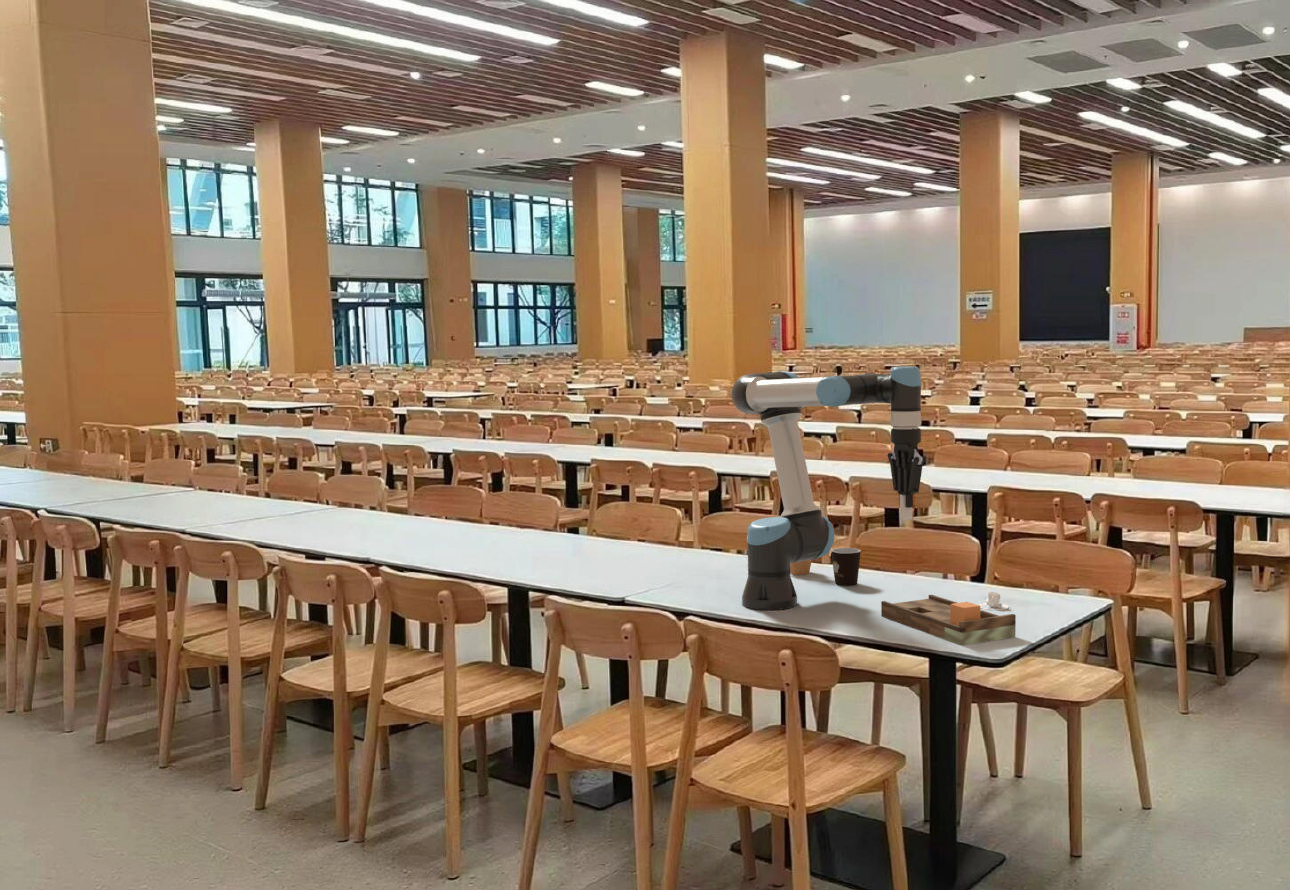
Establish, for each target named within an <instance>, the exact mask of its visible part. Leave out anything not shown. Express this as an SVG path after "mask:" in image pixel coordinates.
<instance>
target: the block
mask: <svg viewBox="0 0 1290 890" xmlns="http://www.w3.org/2000/svg"><path fill="white" fill-rule="evenodd" d="M980 610H981V608H980V605H979V604H975V603H972V602H970V601H964V602H963V601H962V602H957V603H954V604H951V607H950V623H951V624H954V625H957V626H959V622H960V621H967V620H974V619H980Z"/></svg>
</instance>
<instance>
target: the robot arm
mask: <svg viewBox="0 0 1290 890" xmlns="http://www.w3.org/2000/svg"><path fill="white" fill-rule="evenodd" d="M730 393H731V394H730V395H731V401H732V403H733V406H735V408H736V409H737V410H739V411H740V413H741V412H742V413H743V414H746V415H760V416H759V417H760V421H761V422H760V423H761V424H763V425H764V426H766V427H767V430H768V434H769V439H770V445H771V449H772V454H773V459H774V464H775V469H776V475H777V481H778V485H779V489H780V495H781V501H782V505H783V511H782V513H780V514H781V515H780V516H772V517H763V518H760V519H757V520H754V521H752V522H751V523H749V525H748V528H747V536H746V542H747V543H746V544H747V579H746V582H745V585H744V589H743V592H742V596H741V604H742V606H744V607H745V608H748V609H752V610H753V609H754V610H762V611H763V610H766V611H769V610H770V611H771V610H772V611H773V610H775V611H776V610H785V609H790V608H794V607H796V606H797V605H798V594H797V591H796V589H795V586H794V583H793V580H792V576H791V573H790V563H794V562H800V561H806V560H812V561H813V560H817V559H819V558H822V557H825V556H826V555H828V554H829V553H830V552H831V550H832V547H833V546H834V543H835V529H834V526H833V524H832V522H831V521H829V518H827V517H826V516H824V515H823V513H822V509H821V508H820V507H819V506H817V505H816V504H815V502H814V497H813V491H812V486H811V482H810V478H809V477H810V475H809V472H808V466H807V462H806V456H805V453H804V447H803V442H802V437H801V432H800V426H799V422H798V421H799V419H800V418H801V416H802V409H803V408H804V407H841V406H850V405H851V406H852V405H863V404H864V405H866V404H890V426H891V427H892V428H891V429H890V442H891V443H892V444H894V446H893V451H892V452H889V453H887V459H888V461H889V464H890V465H889V467H890V473H891V480H892V486H893V490H894V492H897V493H898V495H899V497H898V498H899V500H898V503H899V504H898V505H899V520H900V521H912V520H913V507H914V495H915V494H918V493H919V492H920V486H921V479H922V473H923V472H922V471H923V466H924V464H925V461H926V457H925V456H921V455H920V454H919V453H920V452H919V448H918V447H919V446H918V445H919V444H920V443H921V442H922V429H921V428H920V427H921V426H922V418H921V417H922V416H921V412H922V411H921V410H922V406H921V405H922V404H921V402H922V375H921V369H920V368H919V367H918V366H911V365H910V366H892V367H891V368H890V373H889V374H886V373H884V374H883V373H873V372H870V373H867V372H866V373H862V374H857V375H856V374H853V375H829V376H816V377H799V376H798V375H796V374H795V373H792V372H790V371H781V370H779V371H771V372H758V373H748V374H744V375H742V376H740V377H739V378H738V379H737V380H736V381H735V382H734V384H733V385H732V387H731V392H730Z"/></svg>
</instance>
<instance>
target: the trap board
mask: <svg viewBox="0 0 1290 890" xmlns="http://www.w3.org/2000/svg"><path fill="white" fill-rule="evenodd" d="M954 603H958V602H957V601H953V600H951V599H950V600H949V599H947V598H944V597H940V596H937V595H933V594H928V598H924V599H917V600H916V599H915V600H909V601H902V602H894V603H892V602H889V601H885V600H881V602H880V604H881V605H880V606H881V609H880V611H881V617H882V618H885V619H888V620H890V621H894V622H897V623H899V624H902V625H905V626H907V627H911V628H913V629H915V630H918V631H921V632H923V633H927V634H928V635H929V634H930V635H933V636H934V637H937V638H941V639H943V640H946V641H949V642H952V643H953V644H954V643H955V644H957V645H961V646H965V645H966V646H967V645H972V644H973V645H974V644H979V643H986V642H992V641H993V642H994V641H998V640H1004V639H1005V640H1006V639H1011V638H1016V630H1017V629H1016V617H1017V616H1016V614H1015V613H1010V614H1004V615H1002V614H1001V615H998V614H995V613H992V612H988V611H985V610H983V609H982V610H981V609H980V619H974V620H967V621H960V622H959V626H957V625H954V624H951V623H950V607H951V604H954Z"/></svg>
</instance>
